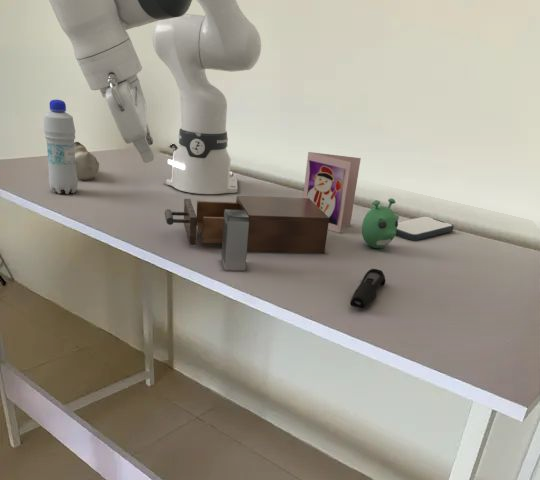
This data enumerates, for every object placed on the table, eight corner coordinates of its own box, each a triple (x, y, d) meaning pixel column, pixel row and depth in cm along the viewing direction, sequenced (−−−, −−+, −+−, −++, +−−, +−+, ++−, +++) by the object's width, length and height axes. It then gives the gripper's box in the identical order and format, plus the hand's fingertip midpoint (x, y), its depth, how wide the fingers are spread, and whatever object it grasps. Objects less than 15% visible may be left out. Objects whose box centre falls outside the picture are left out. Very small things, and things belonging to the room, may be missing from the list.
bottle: (70, 196, 137) (64, 102, 128) (43, 192, 138) (34, 98, 129) (84, 190, 143) (79, 100, 134) (58, 187, 144) (51, 96, 135)
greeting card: (297, 220, 137) (305, 152, 130) (318, 216, 142) (326, 150, 135) (337, 233, 131) (348, 162, 124) (357, 228, 136) (368, 160, 129)
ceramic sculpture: (66, 145, 144) (44, 138, 154) (69, 182, 148) (47, 173, 158) (108, 144, 150) (84, 137, 160) (110, 180, 154) (86, 171, 164)
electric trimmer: (342, 312, 94) (345, 293, 92) (365, 280, 107) (368, 263, 105) (366, 317, 93) (369, 298, 91) (385, 284, 106) (389, 267, 104)
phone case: (413, 242, 131) (455, 232, 140) (414, 235, 130) (456, 225, 139) (381, 231, 136) (424, 222, 146) (383, 224, 136) (425, 215, 145)
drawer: (167, 244, 111) (167, 216, 109) (163, 223, 123) (163, 197, 120) (265, 247, 115) (268, 219, 113) (252, 226, 127) (254, 201, 124)
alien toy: (376, 255, 120) (385, 205, 115) (351, 243, 125) (359, 195, 120) (402, 252, 123) (411, 203, 118) (377, 240, 129) (385, 193, 124)
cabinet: (246, 252, 114) (248, 215, 111) (234, 229, 127) (236, 195, 123) (324, 253, 118) (329, 217, 114) (305, 231, 130) (309, 198, 127)
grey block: (224, 270, 105) (227, 216, 100) (221, 261, 108) (223, 209, 104) (245, 270, 105) (249, 217, 101) (241, 262, 109) (245, 210, 105)
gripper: (129, 72, 85) (168, 164, 94) (131, 50, 102) (165, 130, 110) (88, 88, 86) (131, 178, 94) (97, 64, 102) (133, 142, 110)
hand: (149, 152), depth 102 cm, fingers open, 8 cm apart
